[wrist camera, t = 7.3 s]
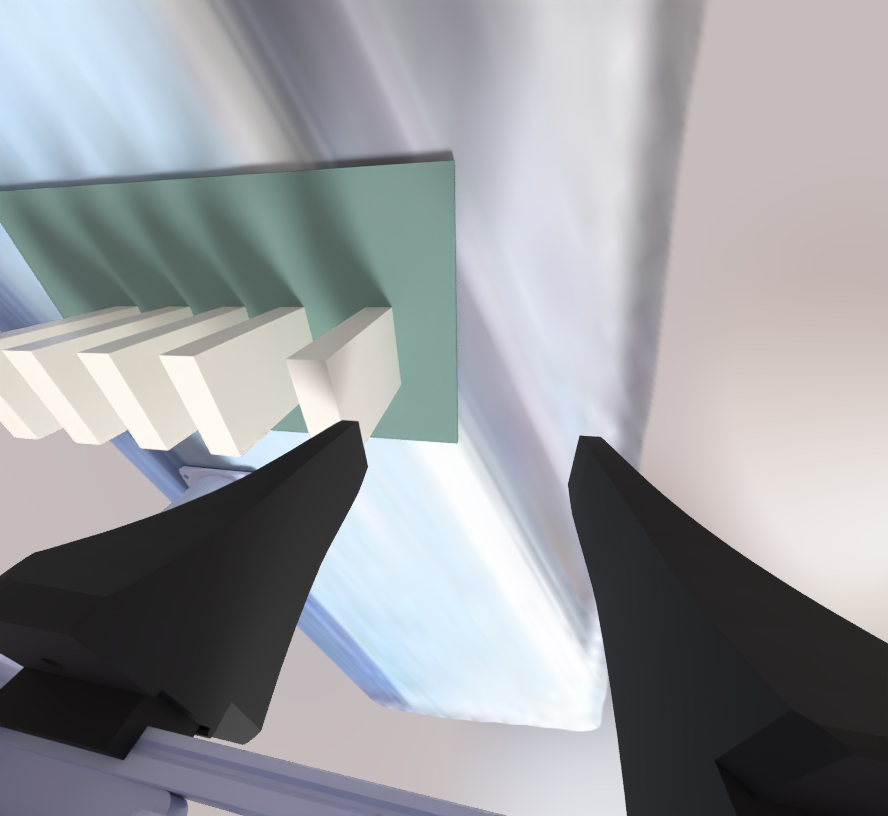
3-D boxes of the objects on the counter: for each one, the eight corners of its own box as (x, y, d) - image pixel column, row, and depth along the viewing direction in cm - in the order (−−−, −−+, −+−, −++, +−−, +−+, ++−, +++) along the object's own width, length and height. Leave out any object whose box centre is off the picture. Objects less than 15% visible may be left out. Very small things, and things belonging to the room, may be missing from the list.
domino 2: (270, 379, 22) (168, 450, 15) (250, 378, 22) (140, 448, 15) (245, 306, 19) (108, 353, 13) (222, 306, 20) (76, 352, 13)
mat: (458, 440, 23) (457, 443, 22) (135, 417, 27) (130, 420, 27) (454, 161, 14) (453, 160, 14) (-10, 193, 19) (-20, 192, 18)
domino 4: (401, 384, 21) (351, 466, 14) (378, 384, 21) (318, 463, 14) (391, 307, 18) (325, 360, 11) (365, 307, 18) (285, 359, 11)
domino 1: (220, 377, 23) (100, 444, 16) (201, 376, 23) (75, 442, 16) (189, 306, 20) (30, 351, 13) (168, 306, 20) (1, 350, 13)
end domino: (173, 375, 23) (38, 439, 16) (155, 374, 23) (15, 437, 17) (137, 306, 21) (-41, 349, 14) (117, 306, 21) (-68, 348, 14)
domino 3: (323, 381, 21) (240, 456, 15) (301, 380, 22) (210, 454, 15) (304, 307, 19) (193, 356, 12) (280, 306, 19) (158, 355, 12)
